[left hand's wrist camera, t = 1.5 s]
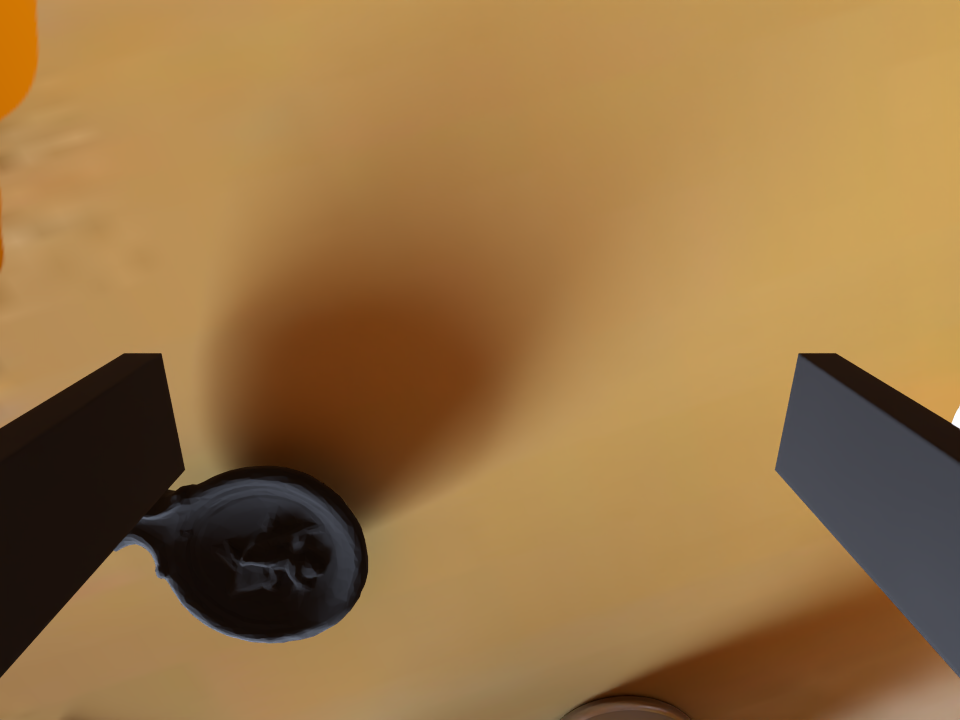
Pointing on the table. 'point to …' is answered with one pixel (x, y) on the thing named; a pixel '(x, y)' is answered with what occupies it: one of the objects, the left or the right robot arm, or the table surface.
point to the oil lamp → (257, 552)
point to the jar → (957, 418)
